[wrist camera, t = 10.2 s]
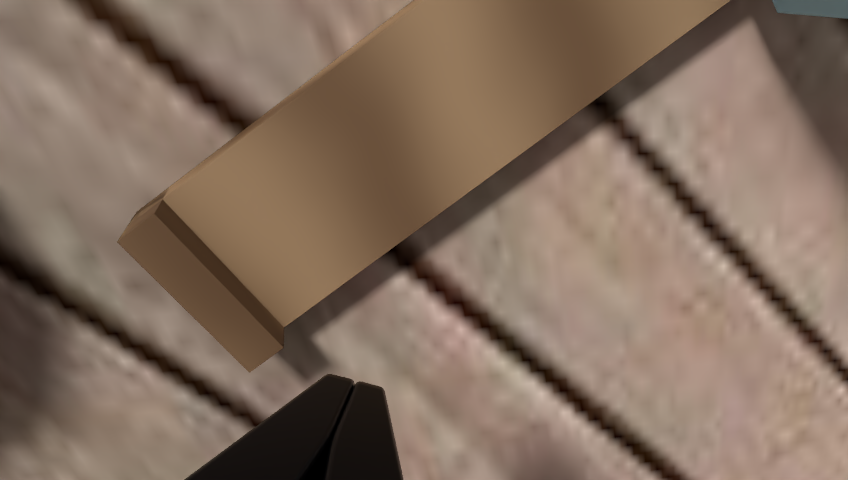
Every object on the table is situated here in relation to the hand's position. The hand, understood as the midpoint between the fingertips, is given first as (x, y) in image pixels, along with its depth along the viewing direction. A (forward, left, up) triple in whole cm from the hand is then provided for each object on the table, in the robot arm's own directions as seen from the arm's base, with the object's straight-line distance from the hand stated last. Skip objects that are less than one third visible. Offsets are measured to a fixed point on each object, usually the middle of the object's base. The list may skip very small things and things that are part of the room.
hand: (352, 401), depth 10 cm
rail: (+3, -7, -11) cm, 14 cm away
